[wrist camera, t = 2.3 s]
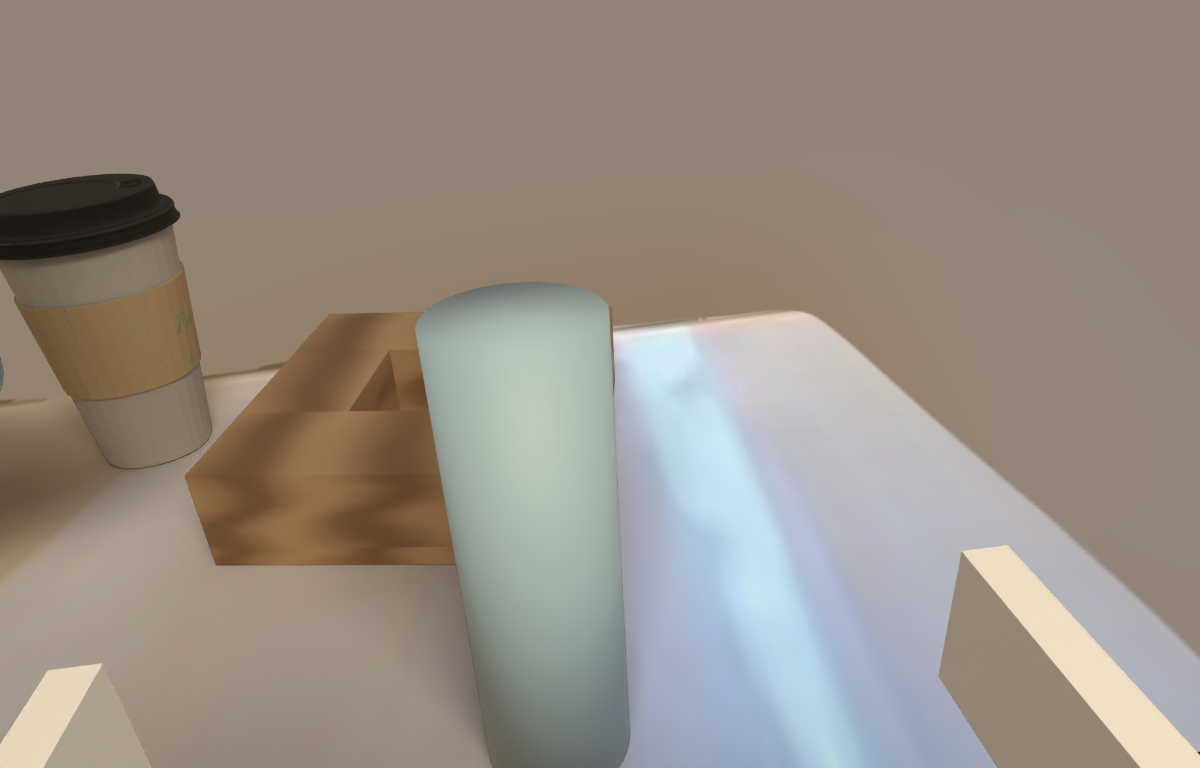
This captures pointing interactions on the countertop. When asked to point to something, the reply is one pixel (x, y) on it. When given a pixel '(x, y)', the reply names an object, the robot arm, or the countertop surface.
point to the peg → (533, 515)
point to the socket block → (332, 457)
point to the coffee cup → (110, 310)
